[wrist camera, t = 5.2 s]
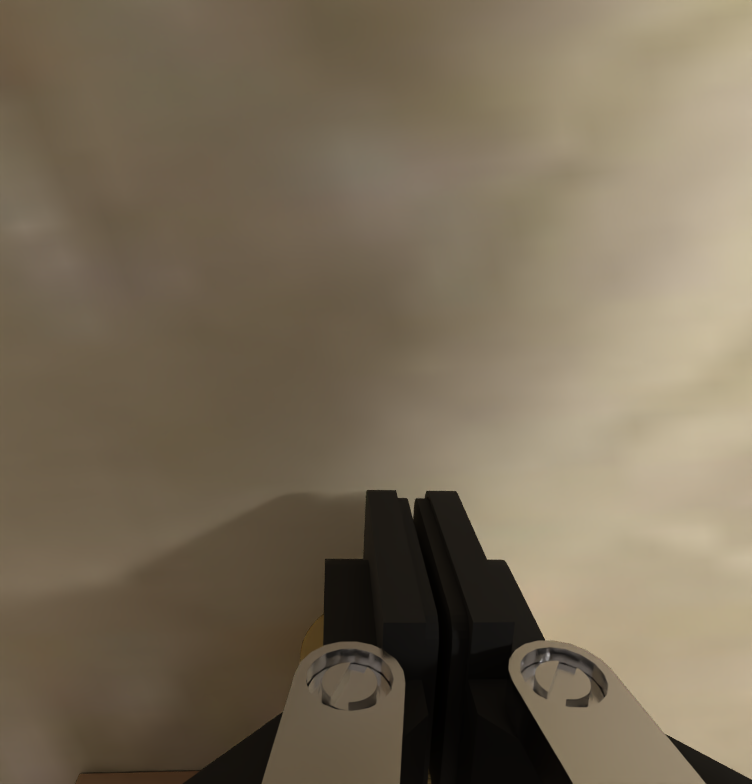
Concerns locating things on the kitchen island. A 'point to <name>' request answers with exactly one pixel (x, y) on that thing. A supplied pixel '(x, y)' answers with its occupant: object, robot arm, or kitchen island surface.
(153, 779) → the beam
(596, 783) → the robot arm
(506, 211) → the kitchen island surface
